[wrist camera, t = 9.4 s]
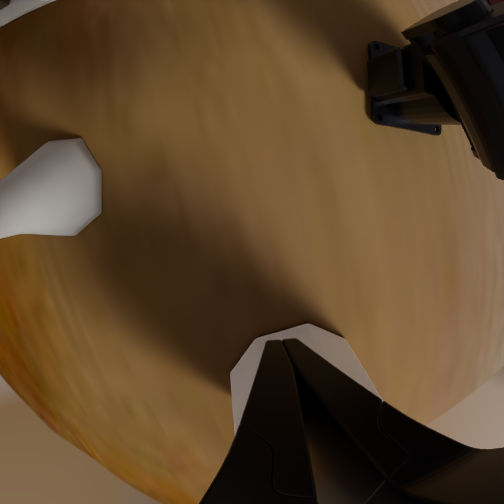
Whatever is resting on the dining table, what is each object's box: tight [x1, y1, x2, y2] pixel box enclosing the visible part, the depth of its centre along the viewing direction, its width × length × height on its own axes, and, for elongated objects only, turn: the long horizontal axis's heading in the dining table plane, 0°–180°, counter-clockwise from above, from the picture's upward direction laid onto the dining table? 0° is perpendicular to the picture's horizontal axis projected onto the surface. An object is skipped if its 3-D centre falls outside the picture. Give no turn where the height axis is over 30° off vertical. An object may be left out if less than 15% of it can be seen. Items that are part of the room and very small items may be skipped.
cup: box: [230, 324, 383, 435], centre depth 16 cm, size 11×11×18 cm
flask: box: [0, 138, 102, 238], centre depth 12 cm, size 7×7×10 cm
